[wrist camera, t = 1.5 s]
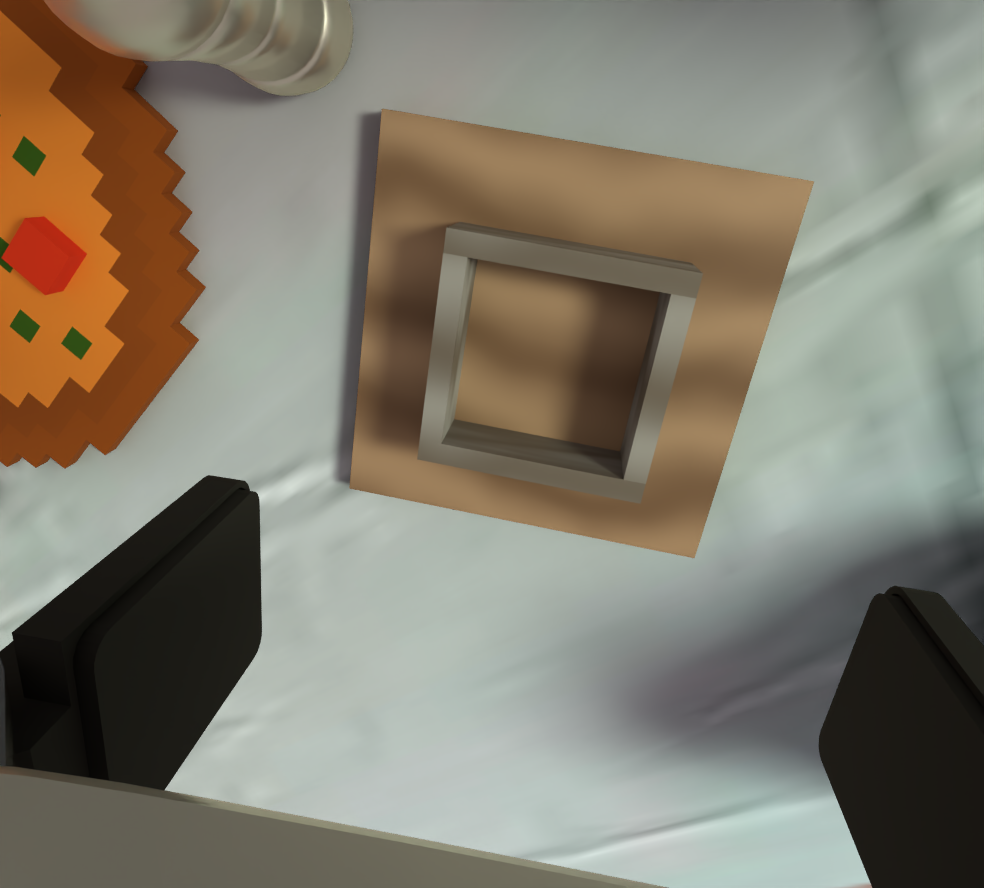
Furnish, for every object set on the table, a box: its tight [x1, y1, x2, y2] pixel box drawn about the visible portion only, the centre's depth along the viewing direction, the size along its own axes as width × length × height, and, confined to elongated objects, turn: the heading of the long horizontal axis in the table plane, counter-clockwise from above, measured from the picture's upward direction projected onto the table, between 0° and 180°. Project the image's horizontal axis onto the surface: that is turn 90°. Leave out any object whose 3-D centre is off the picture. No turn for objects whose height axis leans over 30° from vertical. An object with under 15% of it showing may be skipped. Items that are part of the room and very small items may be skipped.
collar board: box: [350, 109, 814, 558], centre depth 38 cm, size 22×22×6 cm
